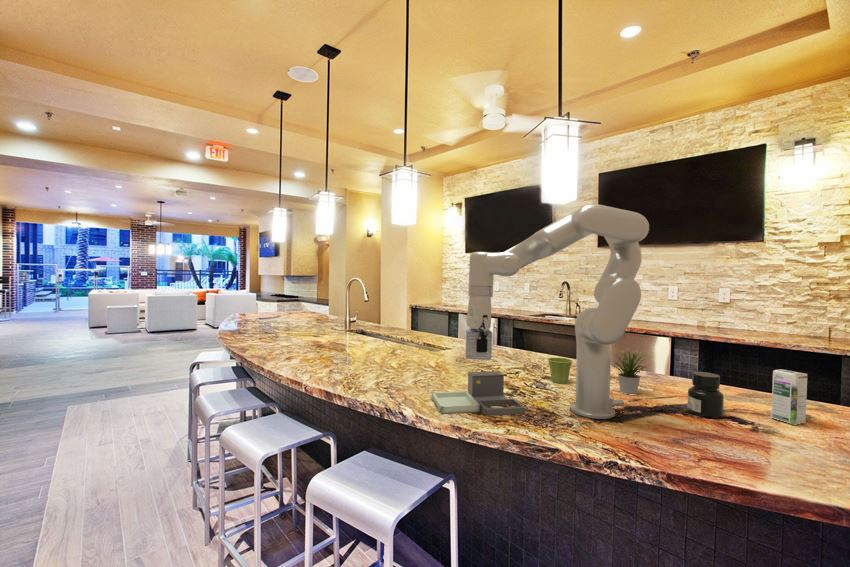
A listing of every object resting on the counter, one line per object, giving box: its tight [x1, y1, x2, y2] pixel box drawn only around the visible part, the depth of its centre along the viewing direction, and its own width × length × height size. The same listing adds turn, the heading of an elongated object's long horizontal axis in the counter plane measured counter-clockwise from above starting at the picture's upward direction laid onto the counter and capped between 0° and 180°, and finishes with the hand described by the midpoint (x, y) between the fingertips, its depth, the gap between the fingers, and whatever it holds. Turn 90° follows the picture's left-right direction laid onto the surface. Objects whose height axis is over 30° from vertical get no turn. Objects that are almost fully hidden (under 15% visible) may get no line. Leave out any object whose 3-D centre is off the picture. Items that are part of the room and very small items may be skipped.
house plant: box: [612, 347, 653, 395], centre depth 137 cm, size 14×14×16 cm
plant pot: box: [547, 357, 573, 384], centre depth 151 cm, size 9×9×9 cm
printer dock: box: [467, 370, 526, 417], centre depth 124 cm, size 13×21×8 cm, turn 10°
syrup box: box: [770, 368, 808, 426], centre depth 112 cm, size 6×6×14 cm
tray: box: [431, 390, 481, 415], centre depth 122 cm, size 12×14×2 cm
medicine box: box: [464, 329, 493, 361], centre depth 120 cm, size 8×4×9 cm, turn 86°
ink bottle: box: [686, 371, 725, 419], centre depth 118 cm, size 10×9×12 cm
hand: (478, 349), depth 120 cm, fingers closed on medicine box, 5 cm apart
